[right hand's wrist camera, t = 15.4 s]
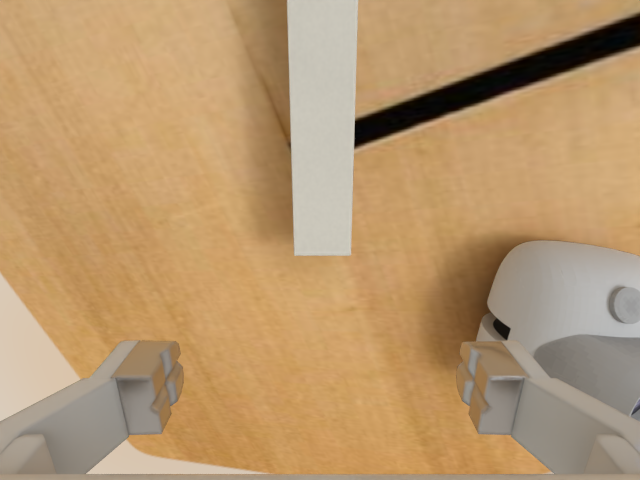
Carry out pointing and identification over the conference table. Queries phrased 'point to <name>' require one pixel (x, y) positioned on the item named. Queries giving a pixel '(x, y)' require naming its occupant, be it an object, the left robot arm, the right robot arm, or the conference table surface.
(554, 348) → the grey slotted rounded body
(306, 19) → the beam
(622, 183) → the conference table surface
